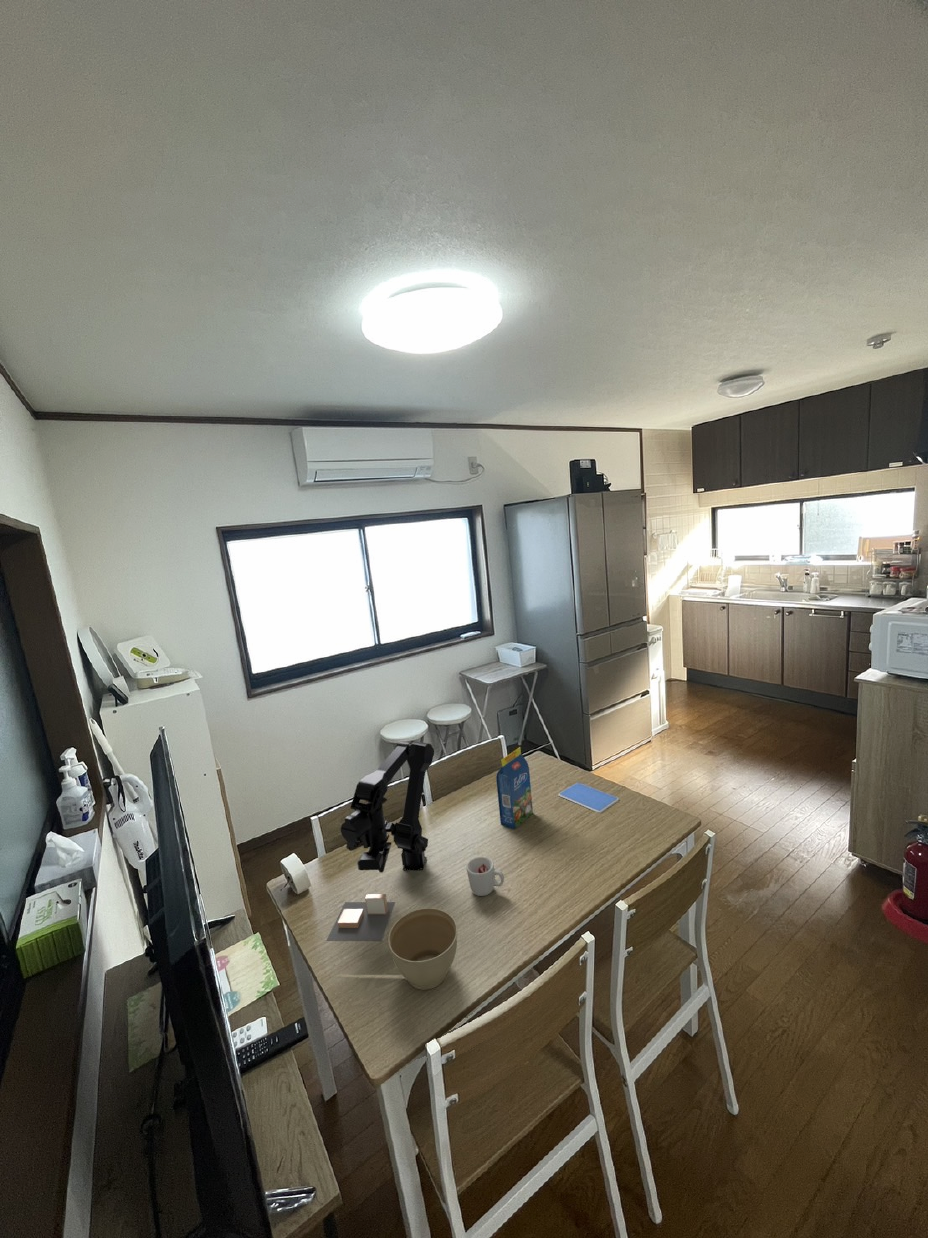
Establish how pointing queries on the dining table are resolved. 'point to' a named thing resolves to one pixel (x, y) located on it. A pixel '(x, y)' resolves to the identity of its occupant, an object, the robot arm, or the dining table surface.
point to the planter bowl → (424, 946)
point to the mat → (362, 925)
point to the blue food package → (514, 790)
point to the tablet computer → (589, 797)
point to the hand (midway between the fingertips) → (381, 871)
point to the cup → (482, 875)
